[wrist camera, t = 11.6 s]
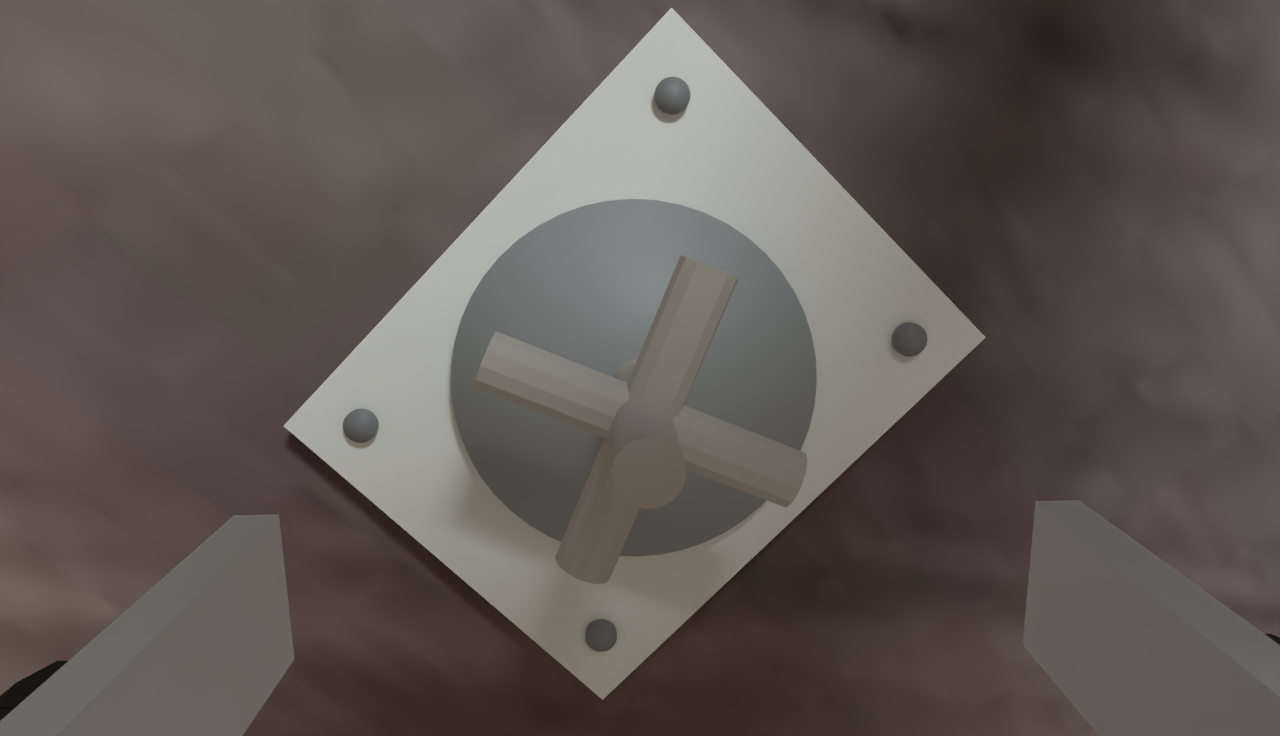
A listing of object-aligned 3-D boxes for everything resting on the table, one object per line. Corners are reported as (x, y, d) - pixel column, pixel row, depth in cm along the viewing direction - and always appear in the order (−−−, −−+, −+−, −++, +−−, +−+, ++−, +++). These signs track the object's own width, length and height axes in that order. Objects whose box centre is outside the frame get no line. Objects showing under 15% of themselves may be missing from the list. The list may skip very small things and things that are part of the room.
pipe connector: (823, 307, 31) (920, 362, 21) (711, 556, 33) (754, 712, 23) (557, 198, 30) (529, 201, 20) (456, 459, 32) (385, 580, 22)
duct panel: (669, 13, 30) (672, 4, 29) (974, 332, 33) (992, 340, 31) (293, 418, 33) (276, 430, 31) (603, 685, 35) (602, 708, 34)
